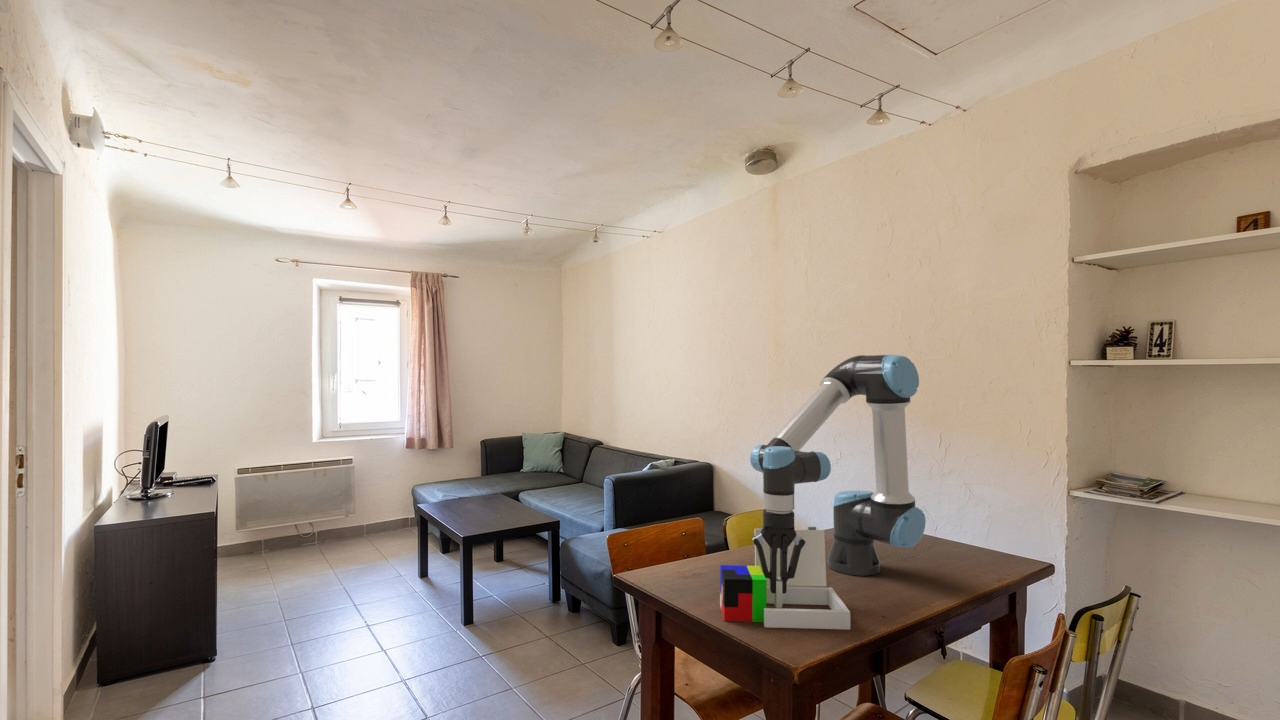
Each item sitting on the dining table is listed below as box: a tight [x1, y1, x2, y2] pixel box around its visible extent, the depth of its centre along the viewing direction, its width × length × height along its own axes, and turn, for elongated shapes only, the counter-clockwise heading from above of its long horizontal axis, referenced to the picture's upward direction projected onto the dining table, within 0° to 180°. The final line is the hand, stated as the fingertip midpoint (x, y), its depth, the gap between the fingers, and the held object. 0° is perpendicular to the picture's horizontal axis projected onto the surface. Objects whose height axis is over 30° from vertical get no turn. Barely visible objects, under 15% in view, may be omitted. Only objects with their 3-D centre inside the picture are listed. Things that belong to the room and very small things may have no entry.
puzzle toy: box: [719, 564, 768, 623], centre depth 147 cm, size 10×10×10 cm
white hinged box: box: [763, 585, 851, 630], centre depth 146 cm, size 20×15×4 cm
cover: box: [754, 525, 827, 587], centre depth 155 cm, size 18×15×1 cm
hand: (778, 605), depth 146 cm, fingers closed
